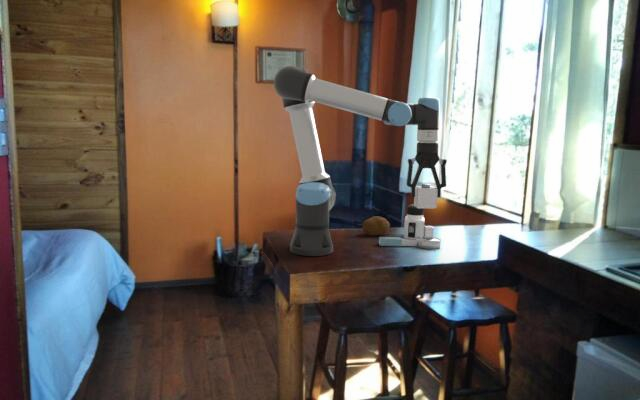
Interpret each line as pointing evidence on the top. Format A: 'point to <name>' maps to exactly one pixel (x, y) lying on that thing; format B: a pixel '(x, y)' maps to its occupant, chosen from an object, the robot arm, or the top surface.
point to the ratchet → (414, 240)
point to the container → (414, 222)
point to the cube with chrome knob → (426, 196)
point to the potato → (375, 226)
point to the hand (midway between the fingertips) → (425, 206)
